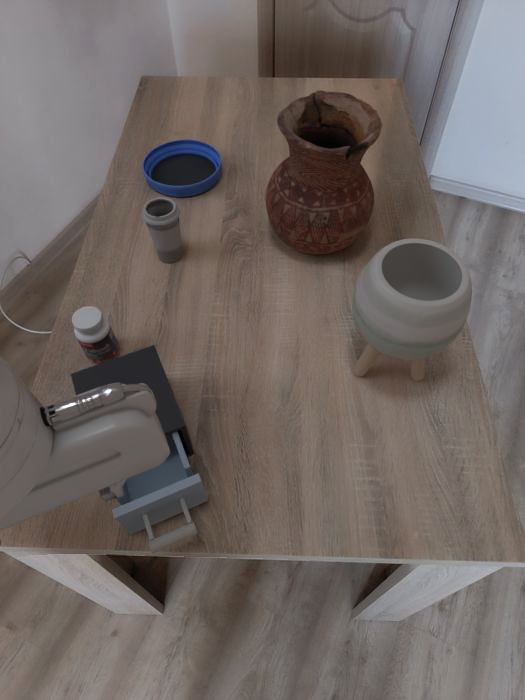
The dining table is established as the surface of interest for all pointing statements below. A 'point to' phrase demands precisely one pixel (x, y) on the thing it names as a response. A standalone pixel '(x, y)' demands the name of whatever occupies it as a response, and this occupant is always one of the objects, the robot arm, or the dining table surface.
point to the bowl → (182, 167)
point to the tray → (161, 497)
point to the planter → (410, 303)
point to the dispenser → (134, 371)
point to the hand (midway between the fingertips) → (53, 514)
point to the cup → (164, 227)
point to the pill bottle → (95, 335)
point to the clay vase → (323, 172)
